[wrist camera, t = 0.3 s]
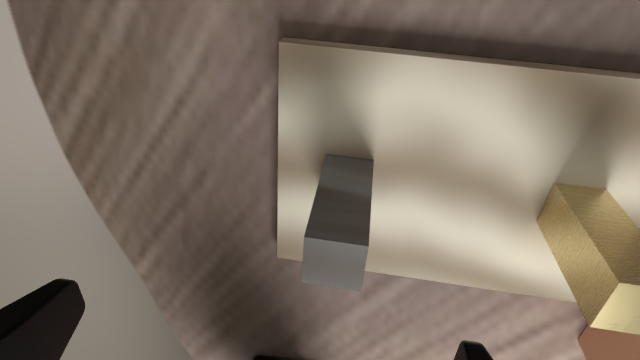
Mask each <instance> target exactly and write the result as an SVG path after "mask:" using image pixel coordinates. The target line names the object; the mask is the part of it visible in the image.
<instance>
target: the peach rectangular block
mask: <svg viewBox="0 0 640 360" xmlns="http://www.w3.org/2000/svg"><path fill="white" fill-rule="evenodd" d="M578 342H579V344H580V346H581V349H582V351H583V353H584V355H585V357H586V359H587V360H640V335H638V334H632V333H625V332H619V331H612V330H606V329H599V328H593V327H589V325H587V327H586V328H585V330H584V331H583V333H582V334H581V336H580V337H579V339H578Z"/></svg>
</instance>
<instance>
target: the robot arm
mask: <svg viewBox="0 0 640 360" xmlns="http://www.w3.org/2000/svg"><path fill="white" fill-rule="evenodd" d="M84 310H85V302H84V299H83V297H82V294H81V292H80V289H79V286H78V284H77V282H75V281H73V280H68V279H56V280H53V281H51V282H49V283H48V284H46V285H44V286H42V287H40V288H38V289H37V290H35V291H33V292H31V293H29V294H27V295H26V296H24V297H22V298H20V299H18V300H16V301H15V302H13V303H11V304H9V305H7V306H5V307H3V308H2V309H0V360H60V358H61V356H62V354H63V352H64V350H65V348H66V346H67V344H68V342H69V340H70V338H71V337H72V334H73V333H74V331H75V329H76V327H77V325H78V323H79V321H80V319H81V317H82V315H83V313H84ZM253 360H276V359H270V358H265V357H259V356H256V357H254V358H253ZM454 360H493V359H492V357H491V356H490V354H489V353H488V351H487V350H486V348H485V347H484V346H483V345H482V344H481V343H479V342H473V341H466V340H463V341H462V342H461V343H460V345H459V347H458V350H457V353H456V355H455V358H454Z"/></svg>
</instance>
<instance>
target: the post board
mask: <svg viewBox="0 0 640 360" xmlns="http://www.w3.org/2000/svg"><path fill="white" fill-rule="evenodd" d="M554 183H562V184H570V185H578V186H586V187H594V188H602V189H607V190H608V192H609V193H610V194H611V195H612V196H613V198H614V199H615V200H616V201H617V202H618V204H619V205H620V206H621V207H622V208H623V210H624V211H625V212H626V213H627V214H628V216H629V217H630V218H631V219H632V220H633V222H634V223H635V224H636V225H637V226H638V228H639V229H640V73H632V72H622V71H612V70H602V69H592V68H583V67H573V66H563V65H553V64H543V63H533V62H524V61H514V60H504V59H494V58H484V57H475V56H465V55H455V54H445V53H435V52H425V51H416V50H406V49H396V48H386V47H376V46H367V45H357V44H347V43H337V42H327V41H317V40H308V39H298V38H288V37H283V38H282V39H281V40H280V41H279V82H278V217H277V258H284V259H290V260H297V261H303V262H302V280H301V282H302V283H308V284H315V285H321V286H328V287H334V288H341V289H347V290H353V291H360V292H361V288H362V282H363V277H364V271H370V272H377V273H384V274H390V275H397V276H404V277H410V278H417V279H424V280H430V281H437V282H444V283H450V284H457V285H464V286H470V287H477V288H484V289H490V290H497V291H504V292H510V293H517V294H524V295H530V296H537V297H544V298H550V299H557V300H564V301H570V302H577V301H576V299H575V297H574V295H573V293H572V291H571V289H570V287H569V285H568V284H567V282H566V280H565V278H564V276H563V274H562V272H561V270H560V268H559V266H558V264H557V262H556V260H555V258H554V256H553V254H552V252H551V250H550V248H549V246H548V244H547V242H546V240H545V238H544V236H543V234H542V232H541V230H540V228H539V226H538V224H537V222H536V221H537V218H538V216H539V214H540V212H541V210H542V208H543V205H544V203H545V201H546V199H547V197H548V195H549V192H550V190H551V188H552V186H553V184H554Z"/></svg>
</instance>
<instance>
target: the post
mask: <svg viewBox="0 0 640 360" xmlns="http://www.w3.org/2000/svg"><path fill="white" fill-rule="evenodd" d="M536 222H537V224H538V226H539V228H540V230H541V232H542V234H543V236H544V238H545V240H546V242H547V244H548V246H549V248H550V250H551V252H552V254H553V256H554V258H555V260H556V262H557V264H558V266H559V268H560V270H561V272H562V274H563V276H564V278H565V280H566V282H567V284H568V285H569V287H570V289H571V291H572V293H573V295H574V297H575V299H576V301H577V303H578V305H579V307H580V309H581V311H582V313H583V315H584V317H585V319H586V321H587V323H588V325H589V327H593V328H599V329H606V330H612V331H619V332H625V333H632V334H638V335H640V229H639V228H638V226H637V225H636V224H635V223H634V222H633V220H632V219H631V218H630V217H629V216H628V214H627V213H626V212H625V211H624V210H623V208H622V207H621V206H620V205H619V204H618V202H617V201H616V200H615V199H614V198H613V196H612V195H611V194H610V193H609V192H608V190H607V189H602V188H594V187H586V186H578V185H570V184H562V183H554V184H553V186H552V188H551V190H550V192H549V195H548V197H547V199H546V201H545V203H544V205H543V208H542V210H541V212H540V214H539V216H538V218H537V221H536Z"/></svg>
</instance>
